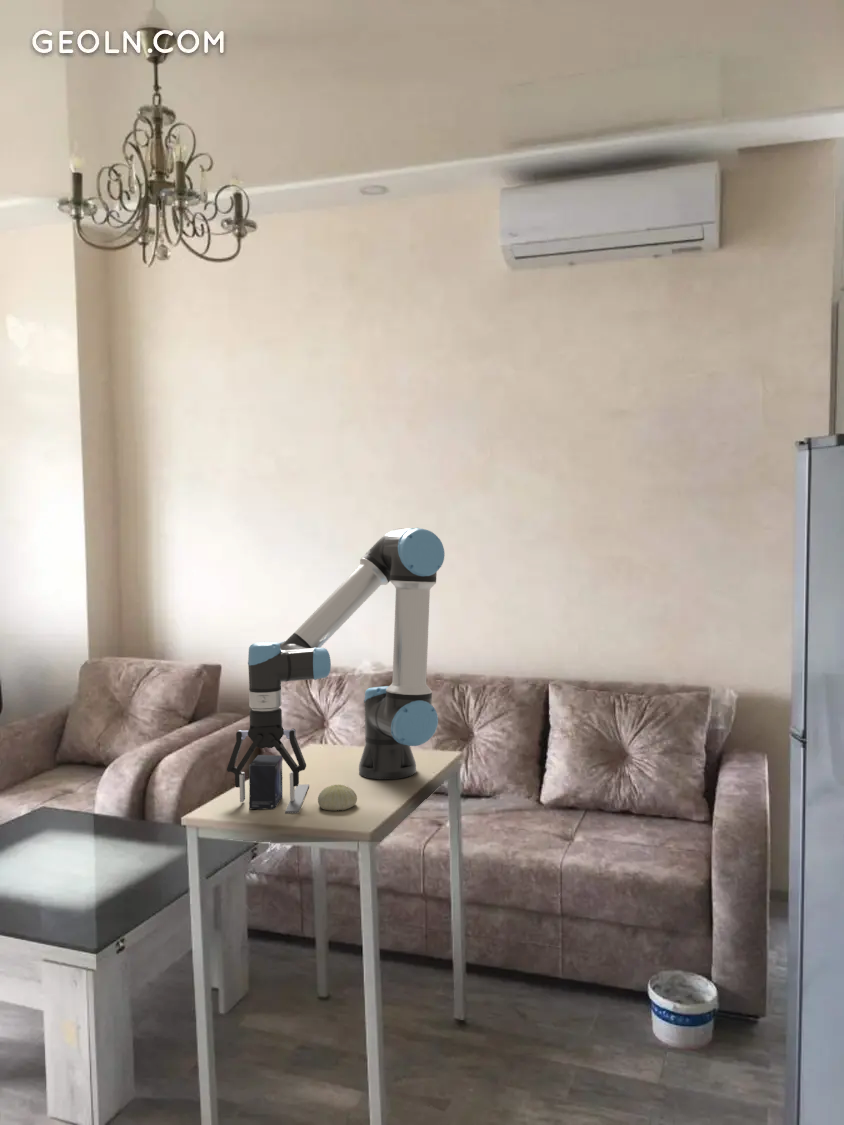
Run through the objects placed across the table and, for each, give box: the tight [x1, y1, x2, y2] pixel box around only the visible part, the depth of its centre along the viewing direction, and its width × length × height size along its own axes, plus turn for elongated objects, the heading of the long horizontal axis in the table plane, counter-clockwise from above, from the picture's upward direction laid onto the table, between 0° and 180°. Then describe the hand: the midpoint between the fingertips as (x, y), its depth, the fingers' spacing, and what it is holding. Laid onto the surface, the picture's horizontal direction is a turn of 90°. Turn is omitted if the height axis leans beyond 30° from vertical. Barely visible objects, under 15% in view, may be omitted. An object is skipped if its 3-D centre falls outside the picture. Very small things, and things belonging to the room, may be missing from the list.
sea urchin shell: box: [317, 784, 358, 812], centre depth 223 cm, size 9×8×8 cm
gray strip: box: [284, 783, 310, 814], centre depth 230 cm, size 3×23×1 cm, turn 1°
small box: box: [248, 754, 283, 810], centre depth 226 cm, size 11×6×10 cm, turn 179°
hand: (267, 800), depth 227 cm, fingers open, 11 cm apart
